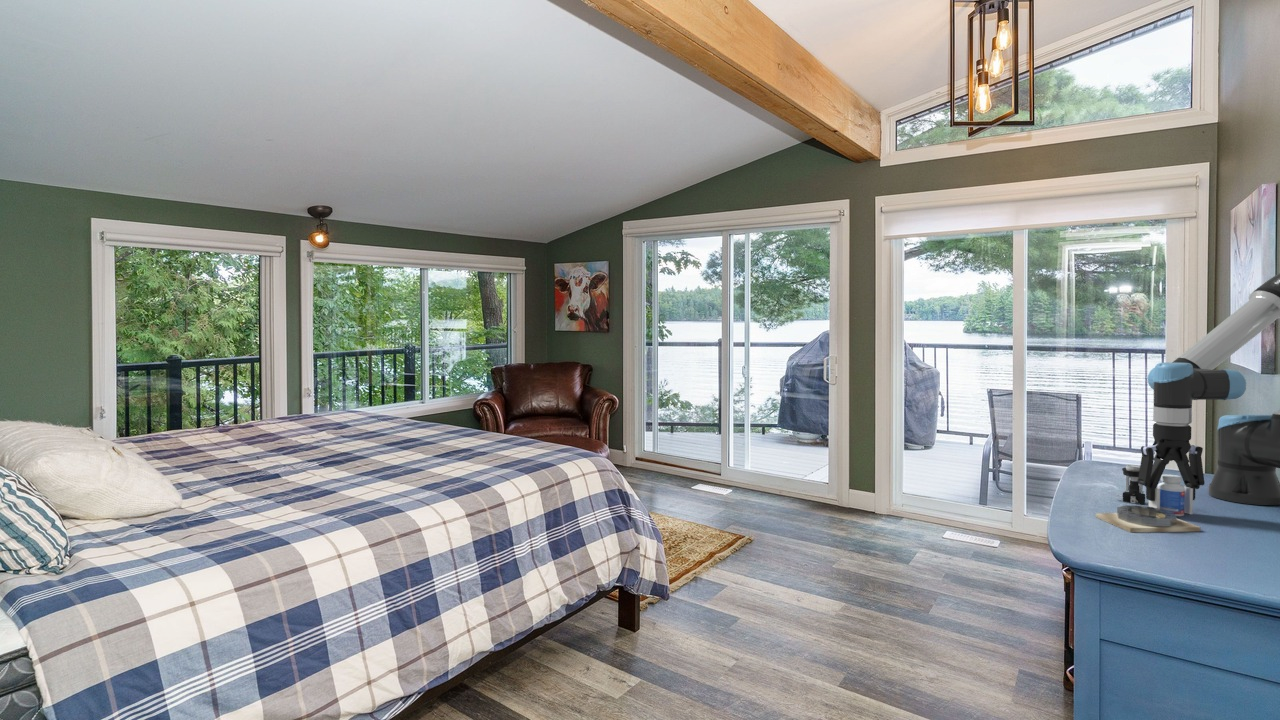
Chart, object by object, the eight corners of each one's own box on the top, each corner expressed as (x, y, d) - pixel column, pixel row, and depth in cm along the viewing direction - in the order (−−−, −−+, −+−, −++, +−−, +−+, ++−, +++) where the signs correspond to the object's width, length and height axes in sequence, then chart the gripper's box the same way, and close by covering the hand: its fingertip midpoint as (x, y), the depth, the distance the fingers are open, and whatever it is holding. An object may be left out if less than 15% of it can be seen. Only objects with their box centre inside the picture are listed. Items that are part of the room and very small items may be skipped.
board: (1160, 516, 162) (1160, 512, 162) (1200, 531, 150) (1200, 527, 150) (1095, 517, 163) (1095, 513, 163) (1130, 532, 151) (1130, 528, 151)
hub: (1151, 513, 162) (1152, 502, 162) (1187, 526, 151) (1188, 514, 151) (1107, 513, 162) (1107, 502, 162) (1139, 527, 151) (1139, 515, 151)
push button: (1114, 502, 176) (1114, 465, 175) (1117, 498, 179) (1118, 462, 179) (1144, 506, 171) (1145, 469, 170) (1147, 502, 175) (1148, 465, 174)
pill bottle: (1186, 518, 160) (1187, 479, 160) (1158, 515, 163) (1159, 477, 163) (1182, 512, 165) (1182, 474, 164) (1155, 509, 168) (1156, 472, 167)
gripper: (1200, 420, 166) (1198, 508, 168) (1120, 422, 167) (1119, 509, 168) (1226, 425, 159) (1224, 516, 160) (1142, 426, 159) (1140, 517, 161)
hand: (1170, 512), depth 164 cm, fingers open, 7 cm apart
